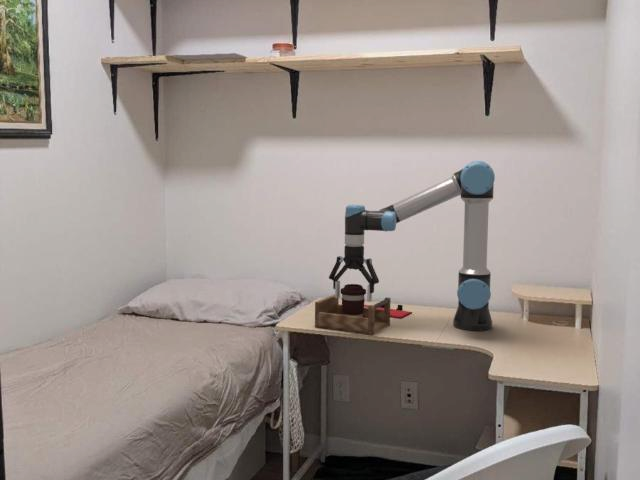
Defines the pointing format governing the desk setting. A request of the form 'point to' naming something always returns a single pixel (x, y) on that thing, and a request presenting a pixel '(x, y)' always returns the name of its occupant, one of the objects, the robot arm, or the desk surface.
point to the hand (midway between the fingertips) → (353, 299)
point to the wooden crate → (351, 317)
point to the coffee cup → (353, 300)
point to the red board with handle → (395, 312)
